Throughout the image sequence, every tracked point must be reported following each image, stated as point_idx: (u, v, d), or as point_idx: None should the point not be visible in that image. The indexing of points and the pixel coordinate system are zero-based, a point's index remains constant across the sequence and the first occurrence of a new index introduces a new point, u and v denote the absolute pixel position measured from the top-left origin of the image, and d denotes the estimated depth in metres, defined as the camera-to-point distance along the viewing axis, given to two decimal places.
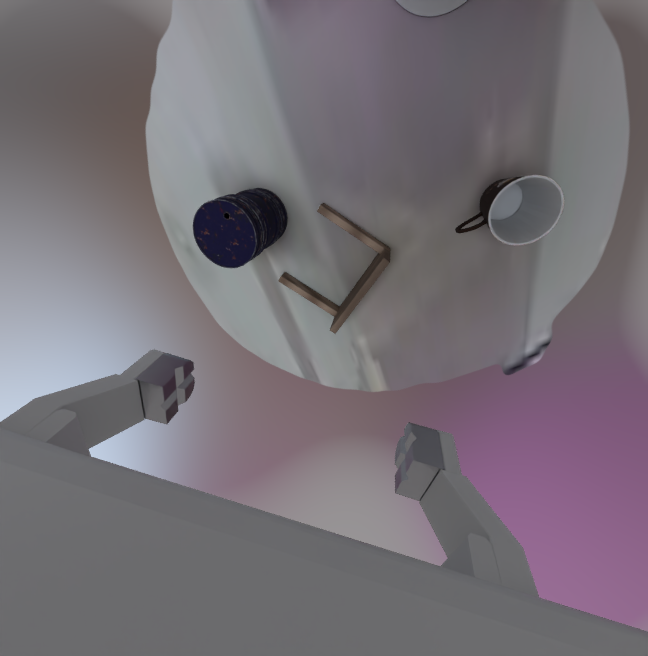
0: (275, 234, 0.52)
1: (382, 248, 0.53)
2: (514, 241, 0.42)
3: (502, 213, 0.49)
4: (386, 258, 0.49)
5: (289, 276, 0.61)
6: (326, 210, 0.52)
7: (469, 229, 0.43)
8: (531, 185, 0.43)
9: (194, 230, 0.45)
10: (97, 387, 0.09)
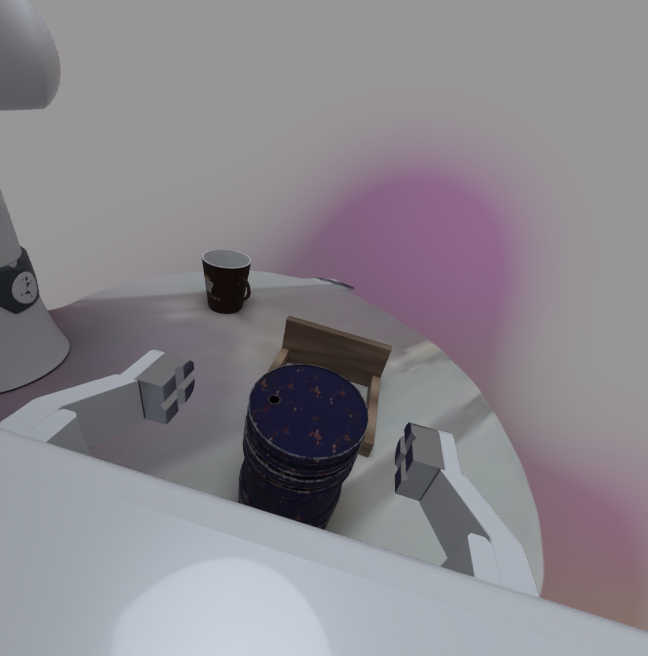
0: None
1: (282, 349, 0.50)
2: (248, 262, 0.58)
3: None
4: None
5: (361, 442, 0.40)
6: None
7: (245, 279, 0.54)
8: None
9: (321, 460, 0.21)
10: (97, 387, 0.09)
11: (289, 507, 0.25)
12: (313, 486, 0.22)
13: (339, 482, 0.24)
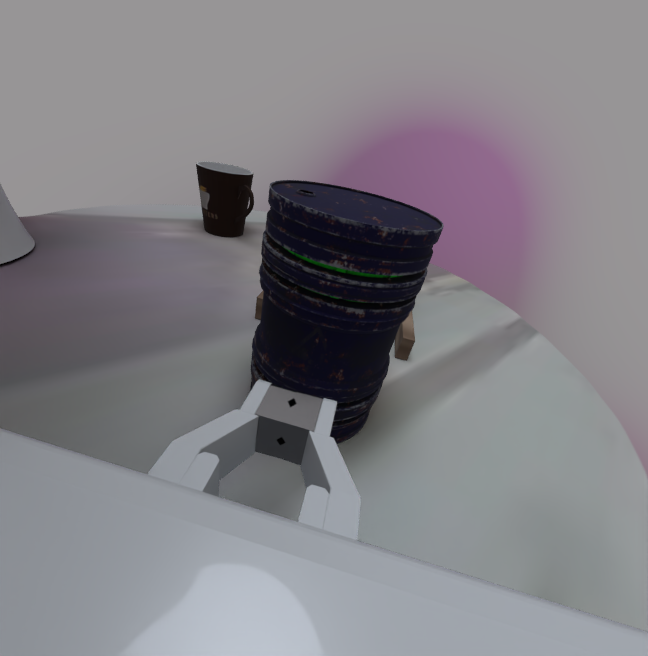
0: None
1: None
2: None
3: None
4: None
5: (397, 345, 0.32)
6: None
7: (247, 187, 0.46)
8: None
9: (390, 234, 0.13)
10: (225, 425, 0.09)
11: (329, 352, 0.17)
12: (371, 295, 0.15)
13: (401, 313, 0.17)
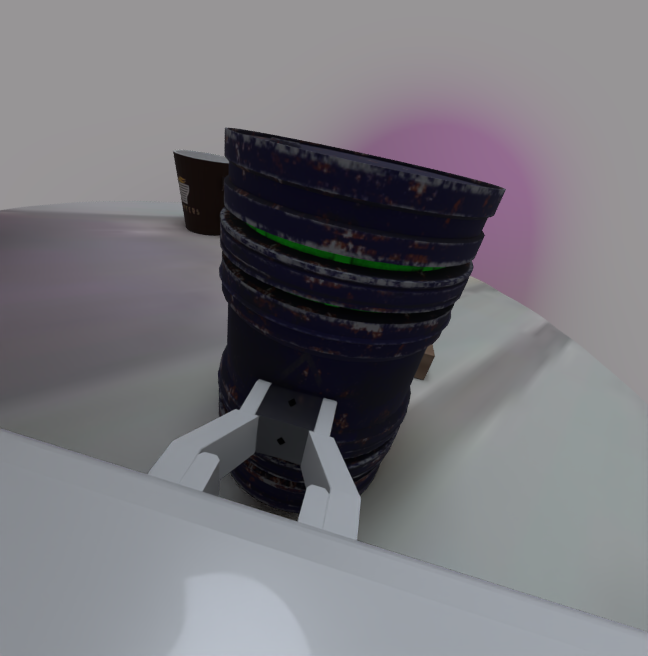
0: None
1: None
2: None
3: None
4: None
5: None
6: None
7: None
8: None
9: (430, 189, 0.07)
10: (225, 425, 0.09)
11: (326, 389, 0.11)
12: (393, 301, 0.09)
13: (437, 327, 0.11)
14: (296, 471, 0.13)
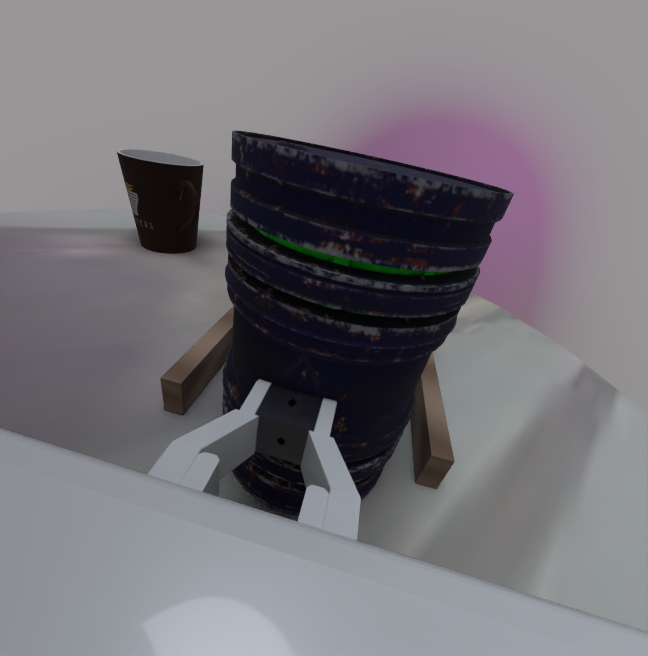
0: None
1: None
2: None
3: None
4: None
5: (417, 456, 0.18)
6: (177, 365, 0.18)
7: (189, 183, 0.32)
8: None
9: (428, 192, 0.07)
10: (225, 425, 0.09)
11: (324, 391, 0.11)
12: (391, 305, 0.09)
13: (439, 333, 0.11)
14: (293, 472, 0.13)
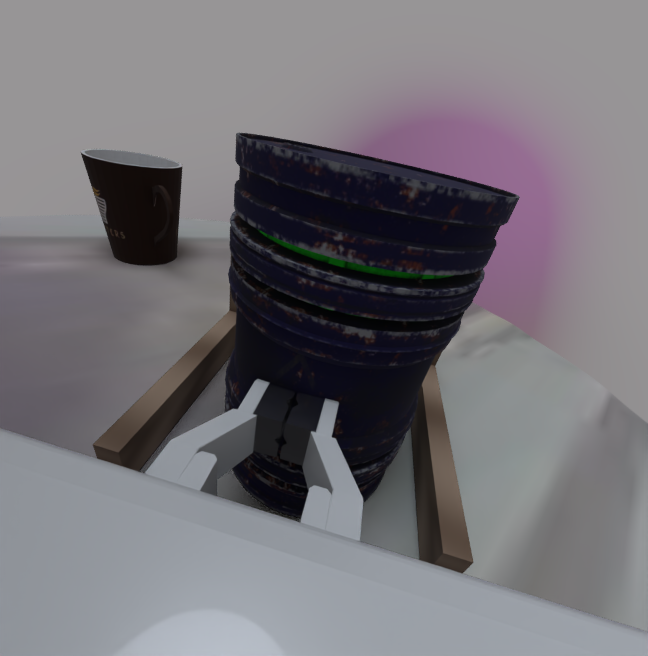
0: None
1: (230, 312, 0.24)
2: None
3: None
4: None
5: (423, 540, 0.14)
6: (119, 423, 0.14)
7: (162, 188, 0.28)
8: None
9: (423, 194, 0.07)
10: (223, 424, 0.09)
11: (320, 392, 0.11)
12: (386, 307, 0.09)
13: (439, 338, 0.10)
14: (289, 472, 0.13)
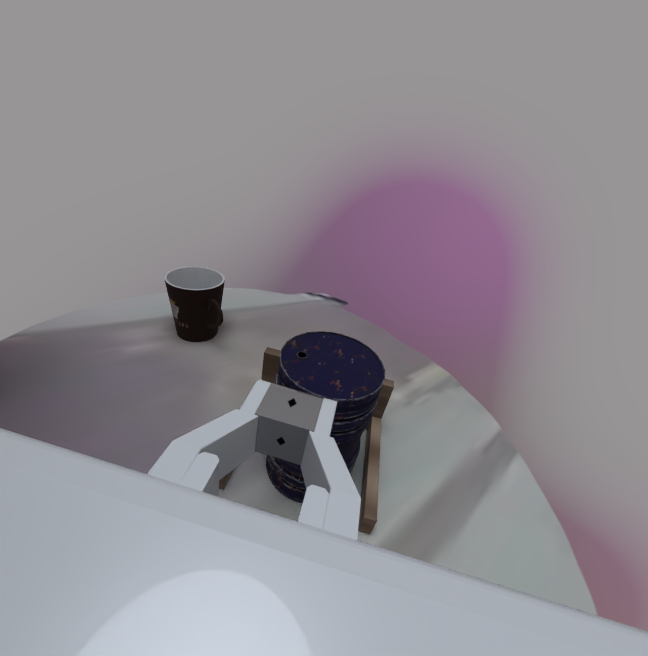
0: None
1: None
2: (222, 281, 0.50)
3: None
4: None
5: (360, 514, 0.31)
6: None
7: (216, 303, 0.45)
8: None
9: (340, 402, 0.24)
10: (225, 425, 0.09)
11: None
12: (332, 428, 0.25)
13: (356, 432, 0.27)
14: (299, 483, 0.30)
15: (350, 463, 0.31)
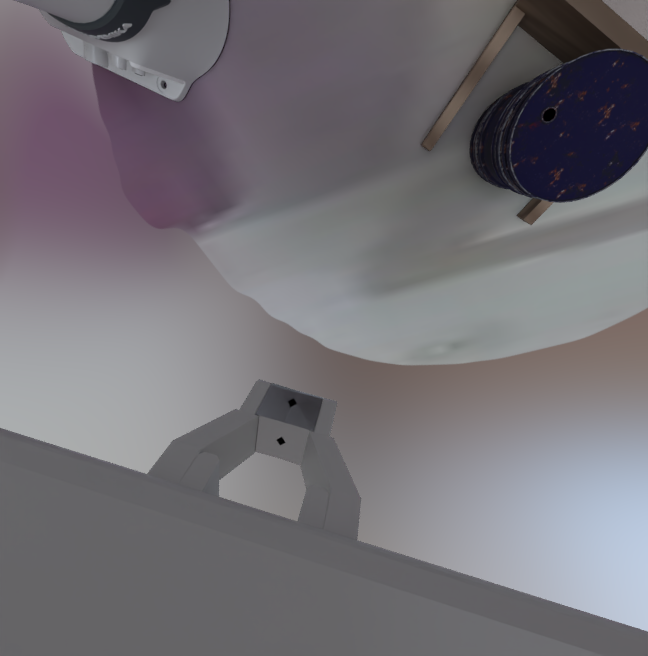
0: None
1: (514, 10, 0.29)
2: None
3: None
4: None
5: (526, 207, 0.38)
6: (431, 134, 0.35)
7: None
8: None
9: (541, 199, 0.26)
10: (225, 425, 0.09)
11: None
12: None
13: None
14: (487, 180, 0.35)
15: None
